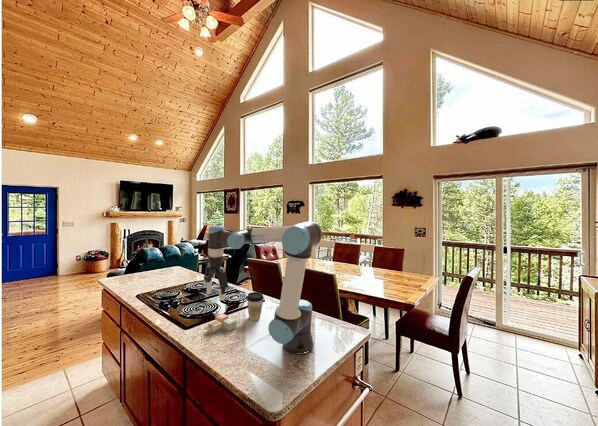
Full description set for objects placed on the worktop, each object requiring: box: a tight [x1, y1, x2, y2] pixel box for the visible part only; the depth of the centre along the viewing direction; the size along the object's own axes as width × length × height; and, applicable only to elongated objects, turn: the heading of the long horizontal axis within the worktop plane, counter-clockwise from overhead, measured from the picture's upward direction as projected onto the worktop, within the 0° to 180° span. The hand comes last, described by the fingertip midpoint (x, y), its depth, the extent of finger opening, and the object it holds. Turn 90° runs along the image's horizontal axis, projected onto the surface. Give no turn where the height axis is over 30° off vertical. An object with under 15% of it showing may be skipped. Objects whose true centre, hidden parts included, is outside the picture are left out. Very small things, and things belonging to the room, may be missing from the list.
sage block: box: [223, 316, 238, 332], centre depth 156 cm, size 5×5×4 cm
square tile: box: [204, 325, 229, 337], centre depth 155 cm, size 12×12×1 cm
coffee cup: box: [246, 291, 265, 321], centre depth 167 cm, size 10×10×15 cm
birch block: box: [207, 320, 222, 335], centre depth 152 cm, size 5×5×4 cm
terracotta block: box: [214, 312, 229, 325], centre depth 160 cm, size 5×5×4 cm
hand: (215, 296), depth 150 cm, fingers open, 10 cm apart
